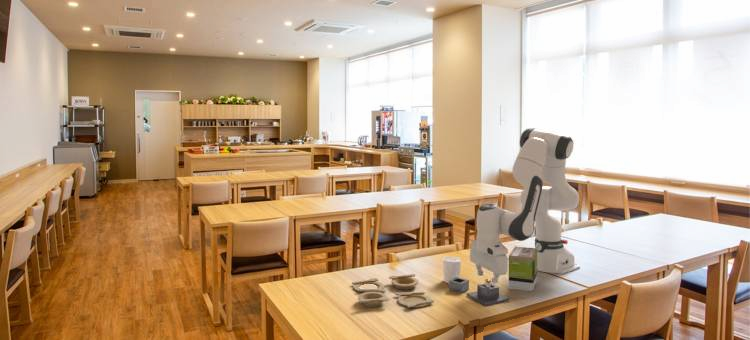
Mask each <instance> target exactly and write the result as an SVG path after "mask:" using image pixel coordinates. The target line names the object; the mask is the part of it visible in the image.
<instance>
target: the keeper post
mask: <svg viewBox="0 0 750 340" xmlns="http://www.w3.org/2000/svg"><path fill="white" fill-rule="evenodd" d="M484 280H485V283H486V288H491V283H492V278H485V279H484ZM466 297H469V298H470V299H472V300H473V301H475V302H477V303H478V304H480V305H482V306H484V307H486V306H492V305H497V304H501V303H507V302H510V301H511V297H508V296H507V295H504V294H502V293H501V292H499V297H497V298H492V299H487V300H486V299H485V298H483V297H481V296H479V295H477V290H476V291H471V292H466ZM506 301H507V302H506Z"/></svg>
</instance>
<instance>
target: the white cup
mask: <svg viewBox="0 0 750 340" xmlns="http://www.w3.org/2000/svg"><path fill="white" fill-rule="evenodd" d="M461 267H462V259H461V258H460V257H457V256H445V257H443V258H442V268H443V281H444V283H447V284H449V281H450V280H452V279H454V278H456V277H458V278H461V269H462V268H461Z"/></svg>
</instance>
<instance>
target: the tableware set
mask: <svg viewBox="0 0 750 340" xmlns="http://www.w3.org/2000/svg"><path fill="white" fill-rule="evenodd" d="M415 277H416V274H415V273H410V274H404V275H389V276H388V279H389V280H390V281H391V282H390V283H391V284H392V285H393V286H396V288H397V289H399V290H403V292H402V291H401V292H395V293H394V294H395V296H397V297H398V298H397V302H398V304H400V305H401V306H403V307H406V308H408V309H409V308H423V307H427V306H429V305H431V304H433V303H434V302H435V300H434V299H432V298H431V297H430V295H426V292H425V291H408V292H407V291H406V290H411V289H413V288H414V287H415V286H418V284H419V280H418V279H417V278H415ZM364 284H374V285H376V286H377V289H360V288H359V287H360V286H361V285H364ZM351 285H352V287H353V290H355V291H356V292H359V294H358V296H357V299H358V303H360V304H363V305H364V306H366V307H368V308H369V307H370V308H374V307H375V308H376V307H379V306H381V304H382V303H383V302H388V301H390V297H388V296H387V295H386V294H385V293H386V292H387V291H386V290H387V289H385V284H384V283H382V282H379V279H378V278H377V277H373V278H369V279H367V280H359V281H353V282H351ZM404 290H405V291H406V292H404Z"/></svg>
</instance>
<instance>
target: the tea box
mask: <svg viewBox="0 0 750 340" xmlns="http://www.w3.org/2000/svg"><path fill="white" fill-rule="evenodd" d="M537 282H538V270H537V248H535V247H524V246H514V247H513V249H512V251H510V253H509V255H508V289H509V290H511V289H512V290H518V291H524V292H533V291H534V288H535V286H536V284H537Z"/></svg>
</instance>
